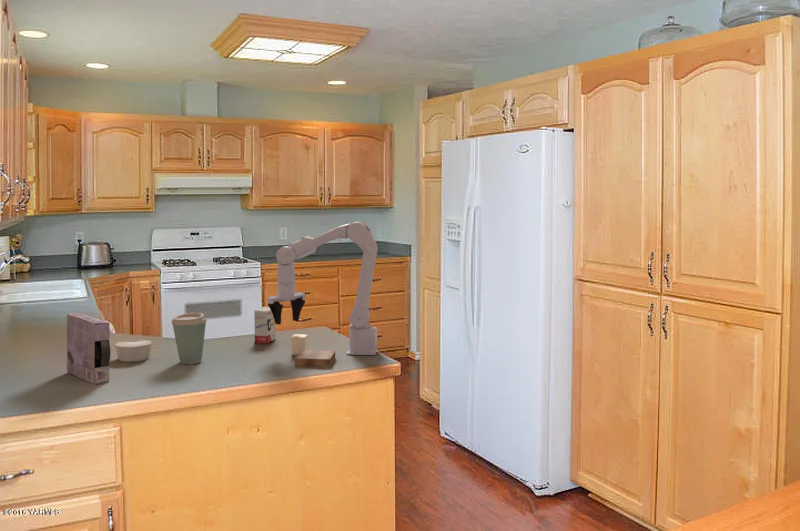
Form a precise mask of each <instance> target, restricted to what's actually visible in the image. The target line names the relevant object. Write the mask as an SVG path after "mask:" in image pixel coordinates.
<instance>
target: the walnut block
mask: <svg viewBox="0 0 800 531" xmlns="http://www.w3.org/2000/svg"><path fill="white" fill-rule="evenodd" d="M295 356H296V357H294V367H302V368H303V367H306V368H331V366H332V365H333V364H334V362H333V361H335V360H336V350H315V349H314V350H311V349H310V350H309V349H307V350H301V352H300V353H299V354H298V355H295Z"/></svg>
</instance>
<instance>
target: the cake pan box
mask: <svg viewBox="0 0 800 531" xmlns="http://www.w3.org/2000/svg"><path fill="white" fill-rule="evenodd" d="M110 363H111V344H110V322H109V321H106V320H103V319H99V318H97V317H95V316H94V317H93V316H90V315H88V314H85V313H82V312H79V313H67V315H66V373H67V374H70V375H72V376H74V377H76V378H77V379H79V380H80V379H81V380H82V381H86V382H88V383H90V384H92V385H94V386H95V385H101V384H106V382H107V383H110Z"/></svg>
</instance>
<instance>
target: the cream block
mask: <svg viewBox="0 0 800 531" xmlns="http://www.w3.org/2000/svg"><path fill="white" fill-rule="evenodd" d="M290 341H291V344H290V345H291V346H290V347H291V348H290V349H291V354H290V355H291V356H293V355H294V356H297V355H298V354H299V353H300V352H301V350H308V334H301V333H300V334H299V333H298V334H297V333H294V334H293V335H292V336H291V340H290Z"/></svg>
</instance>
